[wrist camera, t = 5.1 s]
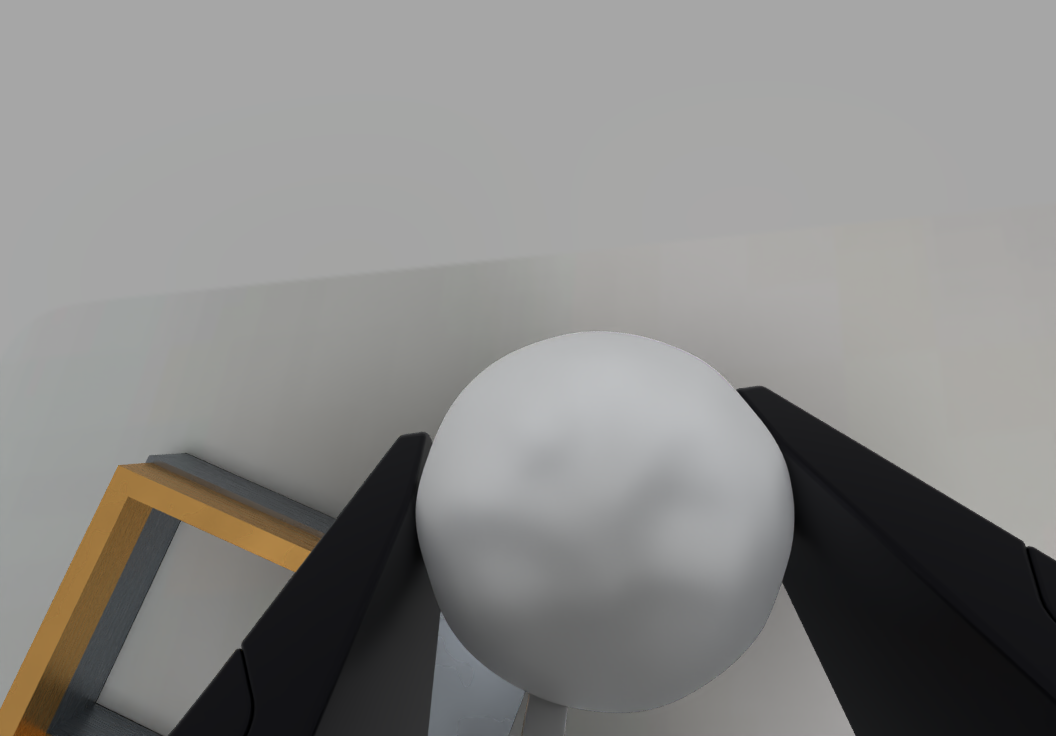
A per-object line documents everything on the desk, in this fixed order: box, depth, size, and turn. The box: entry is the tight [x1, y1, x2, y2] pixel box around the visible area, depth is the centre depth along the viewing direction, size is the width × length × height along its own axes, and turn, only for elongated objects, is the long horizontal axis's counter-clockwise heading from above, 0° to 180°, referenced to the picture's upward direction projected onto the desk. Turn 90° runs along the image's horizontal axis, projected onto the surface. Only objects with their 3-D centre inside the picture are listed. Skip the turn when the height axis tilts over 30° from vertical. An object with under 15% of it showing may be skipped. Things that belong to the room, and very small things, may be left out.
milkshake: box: [416, 331, 794, 736], centre depth 9 cm, size 4×5×10 cm
